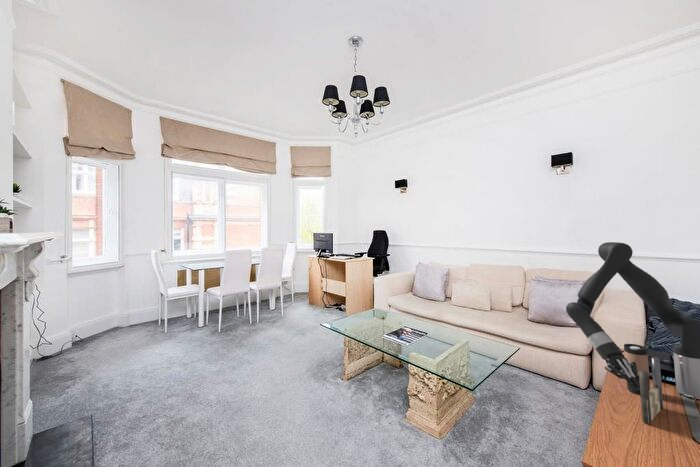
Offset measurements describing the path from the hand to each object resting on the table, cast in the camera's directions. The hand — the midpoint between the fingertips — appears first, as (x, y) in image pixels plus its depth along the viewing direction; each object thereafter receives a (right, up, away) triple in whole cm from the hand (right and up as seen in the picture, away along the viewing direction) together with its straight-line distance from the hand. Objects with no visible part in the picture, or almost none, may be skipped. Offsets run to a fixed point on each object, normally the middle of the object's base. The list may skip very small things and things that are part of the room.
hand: (638, 388), depth 111 cm
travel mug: (+19, -12, +19) cm, 29 cm away
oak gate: (+6, -11, +1) cm, 13 cm away
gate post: (+15, -11, +6) cm, 20 cm away
